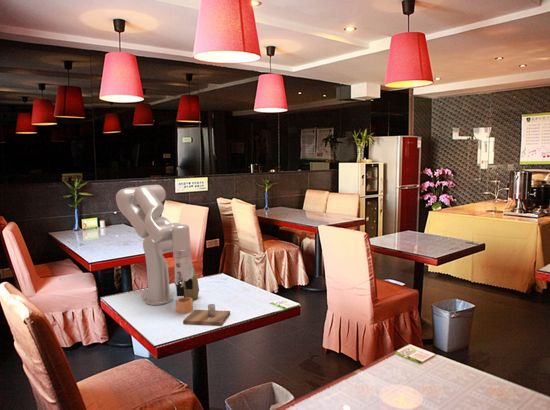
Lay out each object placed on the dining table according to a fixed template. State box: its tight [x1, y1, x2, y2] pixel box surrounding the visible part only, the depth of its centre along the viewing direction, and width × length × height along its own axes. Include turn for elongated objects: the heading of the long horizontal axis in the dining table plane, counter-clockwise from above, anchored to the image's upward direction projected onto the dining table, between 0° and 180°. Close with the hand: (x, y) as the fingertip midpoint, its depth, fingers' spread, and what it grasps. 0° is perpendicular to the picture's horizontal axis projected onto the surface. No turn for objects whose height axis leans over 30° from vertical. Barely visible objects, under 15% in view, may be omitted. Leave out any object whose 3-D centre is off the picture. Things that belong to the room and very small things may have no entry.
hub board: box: [182, 303, 231, 327], centre depth 170 cm, size 16×12×6 cm
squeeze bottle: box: [183, 267, 200, 301], centre depth 195 cm, size 8×8×18 cm
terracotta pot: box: [175, 296, 194, 315], centre depth 180 cm, size 7×7×6 cm
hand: (185, 292), depth 179 cm, fingers open, 9 cm apart
